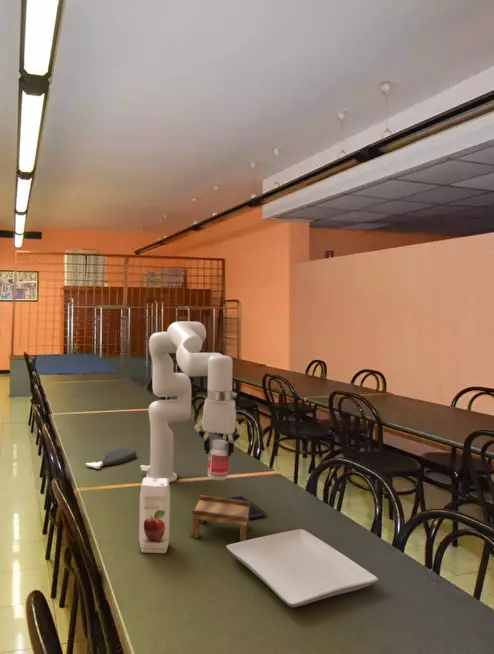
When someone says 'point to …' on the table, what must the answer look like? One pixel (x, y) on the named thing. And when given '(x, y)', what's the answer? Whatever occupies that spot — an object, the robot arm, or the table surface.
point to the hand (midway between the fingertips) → (218, 453)
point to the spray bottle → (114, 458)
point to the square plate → (301, 567)
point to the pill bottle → (218, 460)
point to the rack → (221, 513)
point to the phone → (251, 508)
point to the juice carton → (154, 515)
